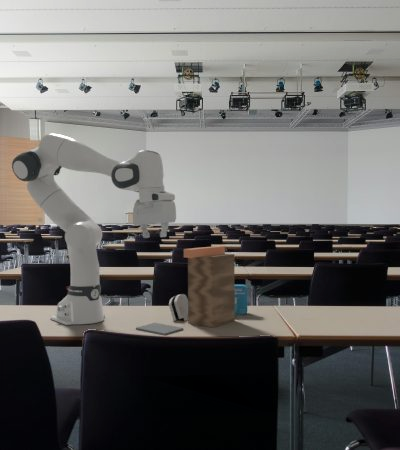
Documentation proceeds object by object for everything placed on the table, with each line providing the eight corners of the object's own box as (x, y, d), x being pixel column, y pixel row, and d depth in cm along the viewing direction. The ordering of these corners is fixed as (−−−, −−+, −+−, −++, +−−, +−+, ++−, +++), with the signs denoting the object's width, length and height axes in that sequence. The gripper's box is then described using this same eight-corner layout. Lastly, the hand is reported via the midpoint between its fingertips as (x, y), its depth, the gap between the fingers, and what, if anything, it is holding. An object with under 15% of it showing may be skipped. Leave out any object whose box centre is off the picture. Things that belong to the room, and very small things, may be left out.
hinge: (185, 321, 181) (177, 296, 182) (174, 324, 182) (166, 300, 183) (195, 312, 198) (187, 290, 198) (185, 315, 199) (177, 293, 199)
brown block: (188, 323, 178) (187, 255, 178) (209, 316, 189) (209, 252, 189) (213, 327, 171) (213, 256, 170) (234, 320, 182) (234, 254, 181)
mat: (135, 329, 168) (135, 327, 168) (154, 324, 176) (154, 322, 176) (164, 335, 160) (164, 333, 160) (183, 329, 168) (183, 327, 168)
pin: (183, 257, 168) (183, 249, 168) (218, 253, 186) (218, 245, 186) (190, 257, 167) (190, 249, 167) (224, 253, 184) (224, 246, 184)
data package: (218, 314, 194) (218, 285, 194) (219, 312, 198) (219, 284, 198) (247, 314, 193) (247, 286, 192) (247, 312, 197) (247, 284, 197)
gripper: (127, 200, 165) (129, 238, 165) (163, 194, 150) (166, 237, 150) (141, 199, 170) (144, 237, 169) (178, 194, 155) (180, 235, 155)
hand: (154, 237), depth 160 cm, fingers open, 8 cm apart
